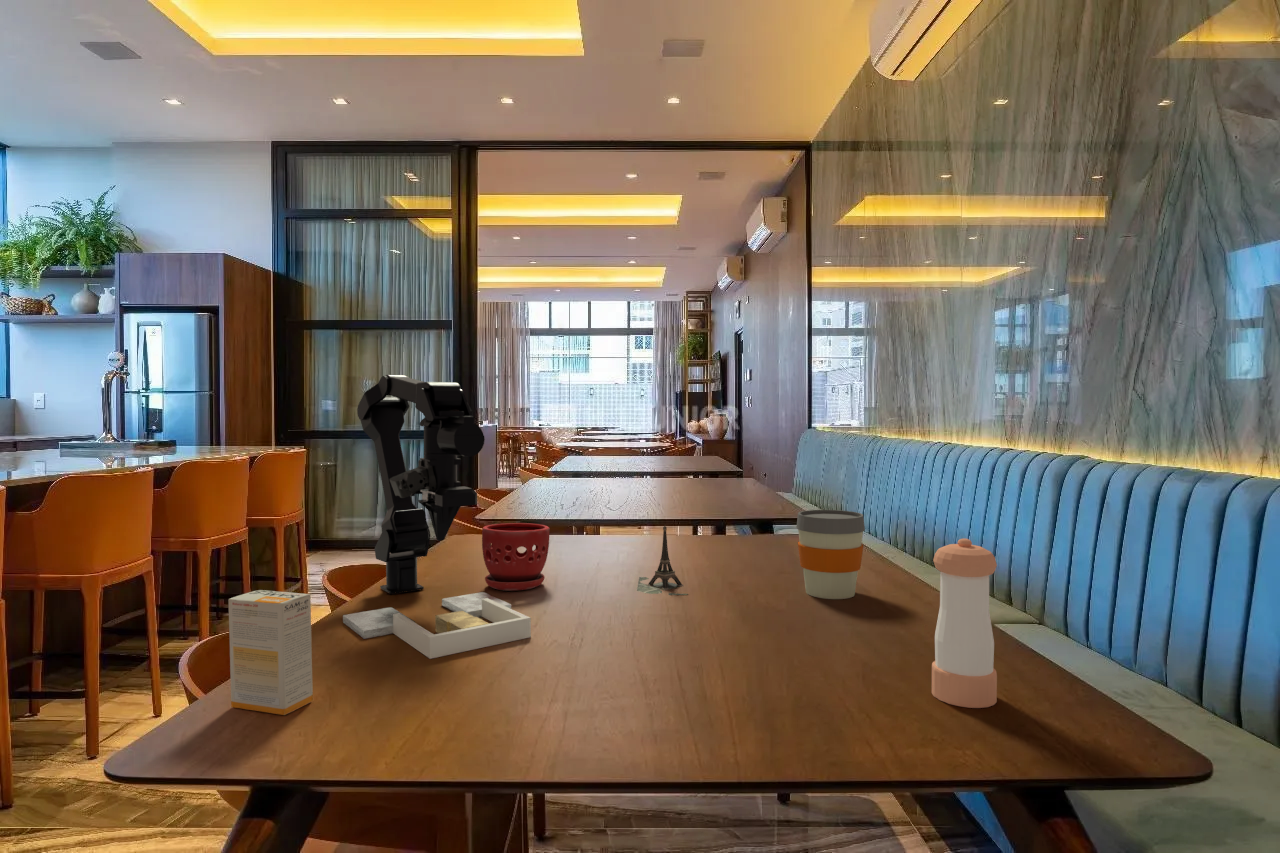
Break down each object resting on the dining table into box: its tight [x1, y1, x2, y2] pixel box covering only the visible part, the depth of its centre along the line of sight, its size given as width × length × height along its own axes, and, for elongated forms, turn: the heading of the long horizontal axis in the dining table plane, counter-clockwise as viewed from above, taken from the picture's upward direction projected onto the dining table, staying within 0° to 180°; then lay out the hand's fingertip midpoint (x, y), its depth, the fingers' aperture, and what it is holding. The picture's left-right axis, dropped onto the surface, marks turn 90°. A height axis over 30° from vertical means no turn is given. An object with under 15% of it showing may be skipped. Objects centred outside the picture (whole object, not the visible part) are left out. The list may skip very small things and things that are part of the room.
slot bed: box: [342, 591, 512, 639], centre depth 125 cm, size 11×25×1 cm, turn 127°
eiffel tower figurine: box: [636, 525, 688, 596], centre depth 147 cm, size 15×10×13 cm
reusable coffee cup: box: [795, 509, 866, 600], centre depth 140 cm, size 12×13×15 cm
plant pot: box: [481, 522, 550, 592], centre depth 147 cm, size 13×13×12 cm
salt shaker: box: [931, 538, 998, 709], centre depth 90 cm, size 7×7×19 cm
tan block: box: [434, 611, 474, 634], centre depth 117 cm, size 4×4×3 cm
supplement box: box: [228, 589, 314, 716], centre depth 88 cm, size 8×5×13 cm, turn 71°
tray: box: [392, 598, 532, 660], centre depth 115 cm, size 15×16×3 cm
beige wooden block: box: [449, 617, 490, 631], centre depth 113 cm, size 4×4×3 cm
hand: (440, 540), depth 132 cm, fingers closed
